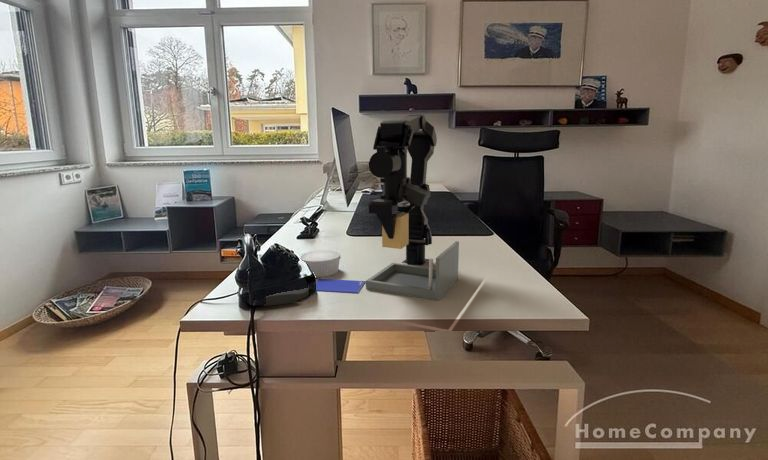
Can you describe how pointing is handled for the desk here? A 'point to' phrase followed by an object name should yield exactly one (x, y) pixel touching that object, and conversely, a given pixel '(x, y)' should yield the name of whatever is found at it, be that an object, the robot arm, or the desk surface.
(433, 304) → the desk surface
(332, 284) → the hard drive
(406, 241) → the block
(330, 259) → the ramekin
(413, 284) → the case
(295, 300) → the media streaming box
